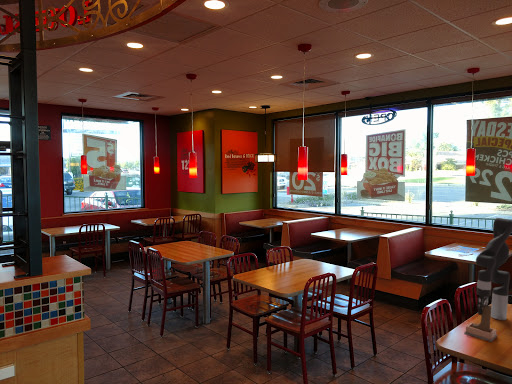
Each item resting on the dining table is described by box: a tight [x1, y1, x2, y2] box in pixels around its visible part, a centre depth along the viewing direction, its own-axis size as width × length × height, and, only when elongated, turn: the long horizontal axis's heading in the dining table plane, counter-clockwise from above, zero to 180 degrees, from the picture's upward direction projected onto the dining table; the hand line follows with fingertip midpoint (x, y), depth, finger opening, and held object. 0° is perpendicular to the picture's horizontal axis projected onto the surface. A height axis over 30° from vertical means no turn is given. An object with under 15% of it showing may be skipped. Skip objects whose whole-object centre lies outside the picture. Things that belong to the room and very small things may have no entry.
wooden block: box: [472, 304, 492, 332], centre depth 239 cm, size 9×4×18 cm, turn 50°
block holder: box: [464, 322, 498, 343], centre depth 239 cm, size 12×15×4 cm
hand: (482, 312), depth 239 cm, fingers open, 8 cm apart
